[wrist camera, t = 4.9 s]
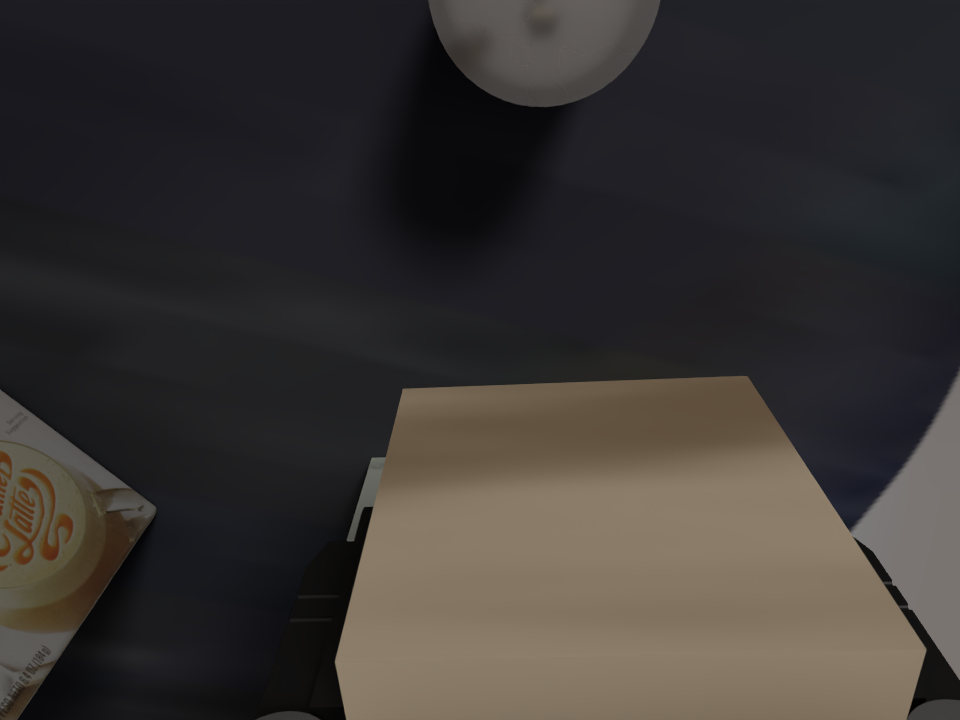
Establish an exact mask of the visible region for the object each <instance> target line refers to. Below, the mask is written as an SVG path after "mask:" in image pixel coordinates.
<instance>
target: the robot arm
mask: <svg viewBox="0 0 960 720" xmlns="http://www.w3.org/2000/svg"><path fill="white" fill-rule="evenodd" d="M373 507H374V506H372V507H364V508H363V510H362V513H361V516H360V520H359V524H358V528H357V531H356V535H355V539H354V541H340V542H328V544H327V545H326V546H325V547H324V548H323V549H322V550H321V551H320V552H319V554H318V555H317V556H316V557H315V558H314V559H313V560H312V561H311V562H310V564H309V565H308V566H307V568H306V571H305V574H304V577H303V580H302V583H301V586H300V589H299V592H298V599H297V600H295V603H294V606H293V609H292V612H291V615H290V623H288V624H287V627H286V630H285V633H284V636H283V639H282V641H281V644H280V647H279V650H278V653H277V656H276V659H275V662H274V665H273V668H272V671H271V674H270V677H269V680H268V683H267V686H266V688H265V691H264V694H263V697H262V700H261V703H260V706H259V709H258V712H257V714H256V717H255V719H254V720H346V716H345V710H344V705H343V700H342V695H341V690H340V685H339V680H338V675H337V670H336V664H335V659H336V655H337V651H338V647H339V643H340V639H341V635H342V631H343V627H344V623H345V619H346V615H347V611H348V607H349V603H350V599H351V595H352V591H353V587H354V583H355V579H356V575H357V571H358V567H359V563H360V559H361V555H362V551H363V547H364V543H365V539H366V535H367V531H368V527H369V523H370V519H371V515H372V511H373ZM852 537H853V536H852ZM853 538H854V537H853ZM854 540H855V541H856V543H857V544H858V546H859V547H860V549H861V550H862V552H863V553H864V555H865V556H866V558H867V559H868V561H869V563H870V564H871V566H872V567H873V569H874V570H875V572H876V573H877V575H878V576H879V578H880V579H881V581H882V582H883V584H884V585H885V587H886V588H887V590H888V591H889V593H890V595H891V596H892V598H893V599H894V601H895V602H896V604H897V605H898V607H899V608H900V610H901V611H902V613H903V614H904V616H905V617H906V619H907V620H908V622H909V623H910V625H911V627H912V628H913V630H914V631H915V633H916V634H917V636H918V637H919V639H920V640H921V642H922V643H923V645H924V646H925V648H926V649H927V650H926V654H925V657H924V661H923V664H922V668H921V671H920V675H919V678H918V681H917V685H916V688H915V692H914V695H913V699H912V702H911V706H910V709H909V713H908V716H907V720H960V680H959V679H958V677H957V676H956V674H955V673H954V671H953V670H952V668H951V667H950V666H949V664H948V662H947V661H946V659H945V658H944V657H943V655H942V654H941V652H940V651H939V649H938V648H937V646H936V645H935V643H934V642H933V640H932V639H931V637H930V636H929V634H928V633H927V631H926V630H925V628H924V627H923V625H922V624H921V623H920V621H919V619H918V618H917V616H916V615H915V613H914V612H913V611H912V610H909V609H908V603H907V602H906V600H905V599H904V597H903V596H902V594H901V593H900V591H899V590H898V588H897V587H896V586H893V585H892V579H891V578H890V576H889V575H888V573H887V572H886V571H885V569H884V568H883V566H882V565H881V563H880V562H879V560H878V559H877V557H876V556H875V554H874V553H873V552H872V551H871V550H870V549H869V548H867V547H866V546H865V545H863V544H862V543H861V542H859V541H858V540H857V539H856V538H854Z"/></svg>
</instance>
